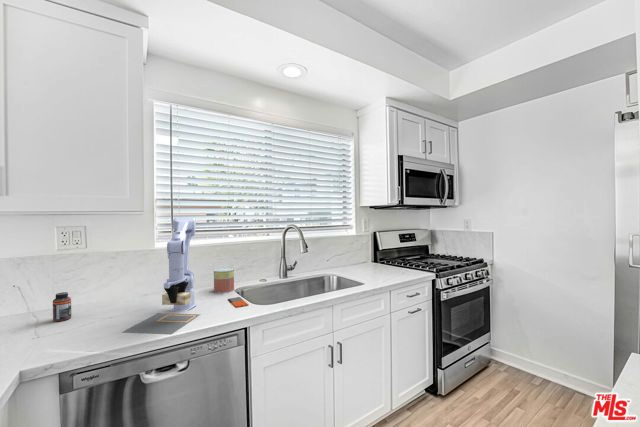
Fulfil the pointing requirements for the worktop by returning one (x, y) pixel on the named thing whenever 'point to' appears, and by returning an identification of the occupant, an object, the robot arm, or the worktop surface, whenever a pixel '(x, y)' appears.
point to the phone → (237, 302)
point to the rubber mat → (162, 323)
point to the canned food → (223, 280)
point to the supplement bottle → (61, 307)
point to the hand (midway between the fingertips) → (176, 301)
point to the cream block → (182, 299)
